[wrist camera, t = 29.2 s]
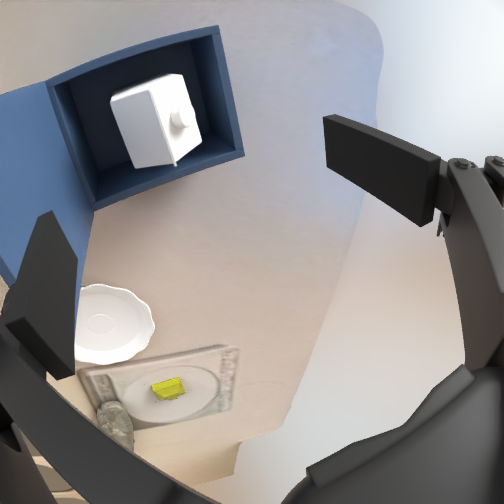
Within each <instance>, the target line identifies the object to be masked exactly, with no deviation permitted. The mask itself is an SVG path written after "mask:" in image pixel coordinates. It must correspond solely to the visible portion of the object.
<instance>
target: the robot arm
mask: <svg viewBox="0 0 504 504" xmlns="http://www.w3.org/2000/svg"><path fill="white" fill-rule="evenodd" d="M323 125H324V137H325V150H326V163H327V167H328V168H329V169H331V170H333V171H334V172H336V173H338V174H339V175H341V176H343V177H344V178H346V179H348V180H349V181H351V182H353V183H354V184H356V185H357V186H359V187H361V188H362V189H364V190H365V191H367V192H369V193H370V194H372V195H373V196H375V197H376V198H378V199H379V200H381V201H382V202H384V203H386V204H387V205H389V206H390V207H391V208H393V209H395V210H396V211H397V212H399V213H400V214H402V215H403V216H405V217H406V218H408V219H409V220H411V221H412V222H413V223H415V224H416V225H418V226H419V227H422V226H424V225H426V224H428V223H429V222H431V221H433V215H434V209H435V208H437V209H438V210H440V211H441V214H440V220H439V225H438V230H437V236H439V235H440V232H442V231H443V237H444V238H445V242H446V246H447V250H448V254H449V259H450V263H451V268H452V272H453V277H454V282H455V287H456V293H457V298H458V304H459V310H460V317H461V323H462V331H463V339H464V348H465V365H463V364H462V365H460V366H459V367H458V368H457V369H456V370H455V371H453V372H452V373H451V374H450V375H449V376H447V377H446V378H445V379H444V380H443V381H441V382H440V383H439V384H438V385H436V386H435V387H434V388H433V389H432V390H431V392H430V393H429V394H428V395H427V397H426V398H425V399H424V401H423V402H422V403H421V404H420V406H419V407H418V408H417V409H416V411H415V412H414V413H413V414H412V416H411V417H410V418H409V419H408V420H407V422H406V423H404V424H403V425H402V426H400V427H397V428H395V429H393V430H390V431H387V432H384V433H381V434H378V435H375V436H373V437H370V438H367V439H363V440H360V441H357V442H354V443H352V444H350V445H348V446H346V447H344V448H343V449H341V450H339V451H337V452H336V453H334V454H332V455H330V456H328V457H326V458H324V459H322V460H321V461H319V462H317V463H315V464H313V465H311V466H309V467H307V468H306V474H307V476H306V477H305V478H304V479H303V480H302V481H301V482H299V483H298V484H297V485H296V486H295V487H294V488H293V489H292V490H291V491H290V493H288V495H287V496H286V497H285V499H284V500H283V501H282V503H281V504H504V209H503V208H504V159H503V158H502V157H498V156H487V157H486V158H485V165H484V168H478V167H477V166H476V165H475V164H474V163H473V162H471V161H468V160H466V159H463V158H462V159H461V158H453V159H450V160H448V162H446V161H444V160H442V159H441V157H439V156H437V155H435V154H433V153H431V152H429V151H427V150H424V149H422V148H420V147H418V146H416V145H413V144H411V143H409V142H406V141H404V140H402V139H399V138H397V137H395V136H392V135H390V134H387V133H385V132H382V131H380V130H377V129H375V128H372V127H369V126H367V125H364V124H361V123H359V122H356V121H353V120H350V119H348V118H345V117H342V116H339V115H336V114H334V115H329V116H325V117H323ZM77 267H78V258H77V256H76V254H75V253H74V251H73V249H72V247H71V245H70V244H69V242H68V240H67V238H66V236H65V234H64V232H63V230H62V228H61V226H60V225H59V223H58V221H57V219H56V217H55V215H54V213H53V211H52V210H51V211H49V212H46V213H44V214H42V215H40V216H38V218H37V220H36V223H35V226H34V228H33V231H32V234H31V236H30V239H29V242H28V245H27V248H26V250H25V253H24V256H23V259H22V262H21V266H20V269H19V272H18V275H17V279H16V282H15V283H14V284H12V286H11V287H10V289H9V291H8V292H7V294H6V296H5V300H4V303H3V307H2V311H1V314H2V315H0V504H58V503H57V502H56V500H55V498H54V497H53V495H52V493H51V492H50V490H49V488H48V487H47V485H46V483H45V481H44V479H43V477H42V476H41V474H40V472H39V470H38V468H37V466H36V464H35V462H34V460H33V458H32V456H31V454H30V452H29V450H28V448H27V445H26V443H25V441H24V439H23V437H22V434H21V432H20V430H19V428H20V429H21V431H22V432H23V433H24V435H25V436H26V437H27V438H28V439H29V441H30V442H31V443H32V444H33V446H34V447H35V448H36V449H37V450H38V451H39V453H40V454H41V455H42V456H43V457H44V458H45V459H46V460H47V462H48V463H49V464H50V465H51V466H52V467H53V468H54V469H55V470H56V471H57V472H58V473H59V474H60V475H61V476H62V478H64V480H66V482H68V484H69V485H70V486H72V487H73V488H74V489H75V490H76V491H77V492H78V493H79V494H80V495H81V496H82V497H83V498H84V499H85V500H86V501H88V502H89V503H90V504H221V503H219V502H217V501H215V500H213V499H211V498H209V497H207V496H205V495H203V494H201V493H199V492H197V491H196V490H194V489H192V488H190V487H189V486H187V485H185V484H183V483H181V482H180V481H178V480H176V479H175V478H173V477H171V476H169V475H168V474H166V473H165V472H163V471H161V470H160V469H158V468H156V467H155V466H153V465H152V464H150V463H149V462H147V461H146V460H144V459H143V458H141V457H140V456H138V455H137V454H135V453H134V452H132V451H131V450H129V449H128V448H127V447H125V446H124V445H122V444H121V443H120V442H118V441H117V440H116V439H114V438H113V437H111V436H110V435H109V434H108V433H106V432H105V431H104V430H102V429H101V428H100V427H99V426H97V425H96V424H95V423H93V422H92V421H91V420H90V419H89V418H87V417H86V416H85V415H84V414H83V413H81V412H80V411H79V410H78V409H77V408H76V407H74V406H73V405H72V404H71V403H70V402H69V401H68V400H66V399H65V398H64V397H63V396H62V395H61V394H60V393H59V392H58V391H57V390H56V389H54V388H53V387H52V386H51V385H50V384H49V383H48V382H47V381H46V372H49V373H50V374H51V375H52V376H53V377H54V378H55V379H56V380H60V379H63V378H66V377H69V376H72V375H75V348H74V329H75V296H76V280H77Z"/></svg>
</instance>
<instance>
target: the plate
mask: <svg viewBox="0 0 504 504" xmlns="http://www.w3.org/2000/svg"><path fill="white" fill-rule="evenodd" d="M154 329H155V324H154V322H153V320H152V317H151V309H150V308H149V306H148V305H147V304H146V303H145V302H143V301H141V300H140V299H138V298H137V297H136V296H135V294H134V293H133V292H131V291H129V290H127V289H125V288H115V287H111V286H108V285H105V284H92V285H89V286H87V287H83V288H81V289H80V296H79V304H78V313H77V322H76V332H75V344H74V348H75V359H76V360H78V361H81V362H88V363H95V364H99V365H108V364H112V363H115V362H121V361H126V360H128V359H131V358H132V357H133V356H134V355H135V354H137V353H138V352H140V351H142V350H143V349H145V348H146V346H147V345H148V344H149V340H150V337H151V335H152V334H153V332H154Z"/></svg>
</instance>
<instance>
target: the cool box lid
mask: <svg viewBox="0 0 504 504" xmlns="http://www.w3.org/2000/svg"><path fill="white" fill-rule="evenodd" d="M51 210H52V211H53V213H54V215H55V217H56V219H57V221H58V223H59V225H60V226H61V228H62V230H63V232H64V234H65V236H66V238H67V240H68V242H69V244H70V245H71V247H72V249H73V251H74V253H75V254H76V256H77V258H78V267H77V280H76V296H75V329H74V344H75V332H76V322H77V313H78V304H79V296H80V289H81V282H82V275H83V269H84V263H85V257H86V252H87V246H88V241H89V236H90V231H91V226H92V222H93V217H94V211H93V209H92V207H91V205H90V202H89V200H88V198H87V196H86V193H85V191H84V189H83V186H82V184H81V182H80V179H79V177H78V174H77V172H76V169H75V167H74V164H73V162H72V159H71V157H70V154H69V152H68V149H67V146H66V144H65V141H64V138H63V135H62V133H61V130H60V127H59V124H58V121H57V118H56V115H55V112H54V109H53V106H52V103H51V100H50V97H49V94H48V91H47V87H46V84H45V81H43V82H39V83H36V84H32V85H29V86H26V87H22V88H19V89H16V90H13V91H10V92H7V93H4V94H1V95H0V275H1V276H2V278H3V279H4V281H5V282H6V284H7V285H8V287H9V288H10V287H11V286H12V284H14V283H15V282H16V279H17V275H18V272H19V269H20V266H21V262H22V259H23V256H24V253H25V250H26V248H27V245H28V242H29V239H30V236H31V234H32V231H33V228H34V226H35V223H36V220H37V218H38V216H40V215H42V214H44V213H46V212H49V211H51Z"/></svg>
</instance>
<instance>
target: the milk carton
mask: <svg viewBox="0 0 504 504" xmlns="http://www.w3.org/2000/svg"><path fill="white" fill-rule="evenodd" d="M110 105H111V108H112V111H113V114H114V116H115V119H116V122H117V124H118V127H119V129H120V132H121V135H122V137H123V140H124V142H125V145H126V148H127V150H128V153H129V155H130V158H131V160H132V162H133V165H134V167H135V168H143V167H150V166H157V165H165V164H174V166H175V167H176V166H177V164H176V161H178V160H179V159H180V158H181V157H183V156H184V155H185V154H187V153H188V152H189V151H191V150H192V149H193V148H194V147H196V146H197V145H198V144H200V143H201V142H202V139H201V136H200V132H199V129H198V125H197V122H196V119H195V111H194V109H193V107H192V105H191V102H190V99H189V95H188V92H187V89H186V86H185V82H184V79H183V76H182V75H178V74H169V73H159V74H157V75H154V76H151V77H148V78H146V79H143V80H140V81H138V82H135V83H133V84H130V85H128V86H125V87H123V88H120V89H118V90H116V91H113V93H112V97H111V101H110Z"/></svg>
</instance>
